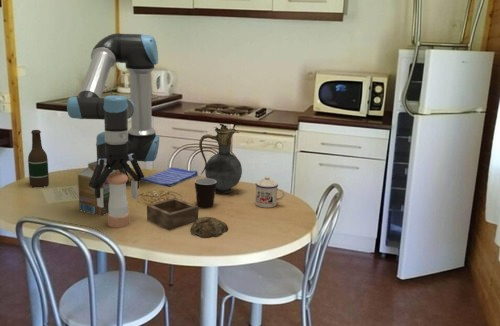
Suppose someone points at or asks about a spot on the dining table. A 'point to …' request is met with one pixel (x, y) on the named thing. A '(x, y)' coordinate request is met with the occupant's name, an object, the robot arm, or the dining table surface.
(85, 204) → the milk carton
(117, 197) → the pepper shaker
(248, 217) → the dining table surface
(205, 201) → the coffee mug
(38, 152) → the beer bottle
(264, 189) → the teacup with lid
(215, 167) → the pitcher
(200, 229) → the bread roll
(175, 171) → the dish towel
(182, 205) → the square wooden tray
